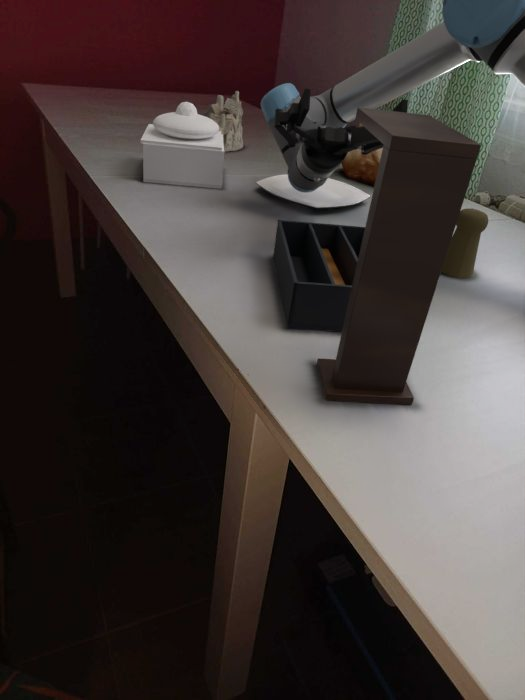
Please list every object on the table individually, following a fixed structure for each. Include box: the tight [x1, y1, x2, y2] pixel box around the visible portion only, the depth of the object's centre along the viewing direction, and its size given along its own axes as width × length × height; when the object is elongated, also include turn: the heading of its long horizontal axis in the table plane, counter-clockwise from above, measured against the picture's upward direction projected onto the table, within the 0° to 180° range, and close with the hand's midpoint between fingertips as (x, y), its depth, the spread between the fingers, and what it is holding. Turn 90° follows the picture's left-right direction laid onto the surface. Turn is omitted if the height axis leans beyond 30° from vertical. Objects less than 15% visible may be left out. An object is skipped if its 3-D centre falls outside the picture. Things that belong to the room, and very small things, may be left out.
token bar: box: [322, 249, 345, 285], centre depth 82 cm, size 20×2×2 cm, turn 5°
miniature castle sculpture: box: [202, 90, 244, 153], centre depth 153 cm, size 16×16×15 cm
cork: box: [441, 207, 489, 279], centre depth 93 cm, size 6×6×11 cm
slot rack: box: [272, 219, 365, 333], centre depth 81 cm, size 23×16×7 cm, turn 3°
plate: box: [255, 173, 371, 211], centre depth 123 cm, size 23×23×2 cm
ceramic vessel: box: [341, 123, 383, 187], centre depth 138 cm, size 14×26×15 cm, turn 48°
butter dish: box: [140, 101, 226, 190], centre depth 123 cm, size 18×18×16 cm
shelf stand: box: [316, 107, 482, 405], centre depth 59 cm, size 15×10×28 cm, turn 3°
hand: (356, 104), depth 73 cm, fingers open, 13 cm apart
